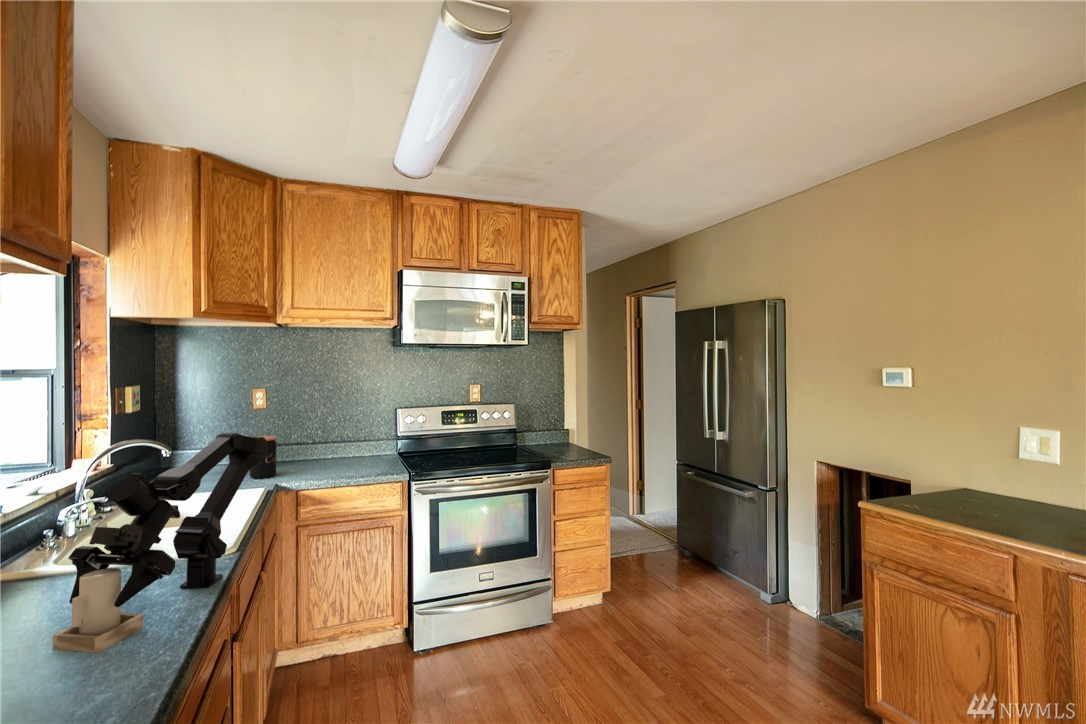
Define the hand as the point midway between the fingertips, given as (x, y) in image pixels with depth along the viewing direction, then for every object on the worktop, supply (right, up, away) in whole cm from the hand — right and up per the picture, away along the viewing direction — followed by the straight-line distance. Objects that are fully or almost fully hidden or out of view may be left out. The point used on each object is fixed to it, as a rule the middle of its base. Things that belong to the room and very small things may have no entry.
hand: (93, 605), depth 97 cm
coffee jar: (-44, -7, +140) cm, 146 cm away
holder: (0, -7, +1) cm, 7 cm away
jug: (0, -7, +1) cm, 7 cm away
